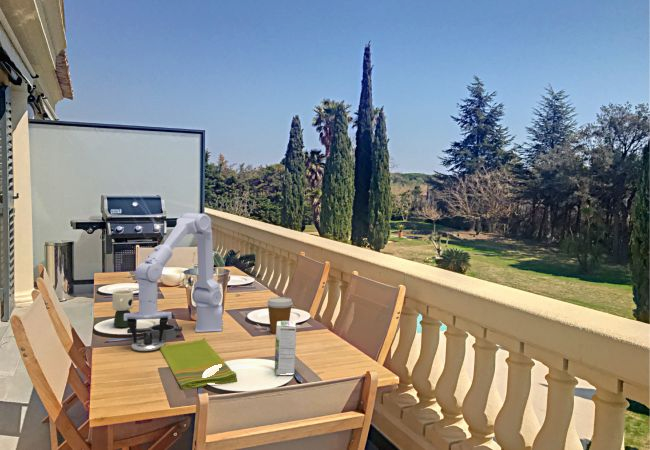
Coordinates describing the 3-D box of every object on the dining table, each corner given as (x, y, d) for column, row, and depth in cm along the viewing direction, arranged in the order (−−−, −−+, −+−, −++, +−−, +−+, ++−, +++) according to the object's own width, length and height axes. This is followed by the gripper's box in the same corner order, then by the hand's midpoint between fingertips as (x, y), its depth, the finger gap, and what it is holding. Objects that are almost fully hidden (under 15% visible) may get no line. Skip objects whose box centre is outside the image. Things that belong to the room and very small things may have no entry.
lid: (164, 342, 173) (164, 327, 173) (163, 352, 164) (163, 336, 163) (133, 344, 171) (133, 328, 170) (129, 354, 161) (129, 337, 161)
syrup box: (274, 368, 152) (275, 320, 151) (294, 368, 152) (296, 320, 151) (274, 376, 146) (275, 326, 145) (295, 376, 147) (296, 326, 145)
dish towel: (181, 392, 134) (181, 380, 134) (159, 351, 166) (159, 341, 166) (238, 384, 141) (238, 372, 141) (206, 345, 173) (206, 336, 173)
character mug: (131, 330, 186) (131, 294, 185) (110, 331, 184) (110, 295, 183) (134, 322, 197) (134, 288, 196) (115, 322, 195) (115, 289, 194)
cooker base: (182, 332, 185) (182, 323, 184) (181, 340, 176) (182, 330, 176) (129, 335, 180) (129, 325, 180) (125, 342, 172) (125, 332, 171)
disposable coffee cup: (296, 330, 192) (297, 298, 191) (284, 336, 184) (284, 303, 183) (274, 326, 196) (275, 295, 195) (261, 332, 188) (261, 300, 187)
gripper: (122, 303, 160) (122, 345, 161) (171, 302, 164) (170, 343, 165) (125, 298, 167) (125, 339, 168) (171, 297, 171) (171, 337, 172)
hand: (147, 341), depth 167 cm, fingers open, 7 cm apart
